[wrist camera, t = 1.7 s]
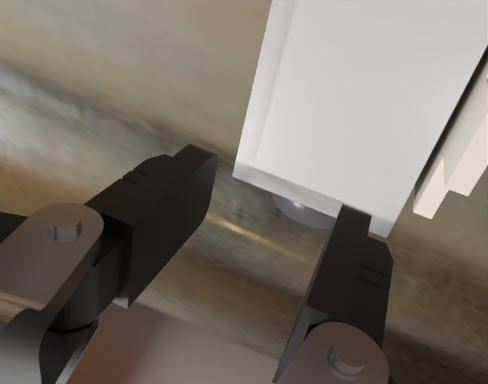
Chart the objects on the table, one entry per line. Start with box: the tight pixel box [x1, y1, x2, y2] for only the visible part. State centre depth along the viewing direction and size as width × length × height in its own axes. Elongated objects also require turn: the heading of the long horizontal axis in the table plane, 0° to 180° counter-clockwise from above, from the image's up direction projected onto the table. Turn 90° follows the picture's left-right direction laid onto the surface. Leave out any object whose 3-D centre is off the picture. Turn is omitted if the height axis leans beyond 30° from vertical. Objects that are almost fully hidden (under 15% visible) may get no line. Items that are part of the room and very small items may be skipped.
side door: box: [413, 45, 488, 219], centre depth 22 cm, size 11×1×13 cm, turn 167°
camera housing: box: [232, 0, 488, 238], centre depth 25 cm, size 18×10×11 cm, turn 167°
